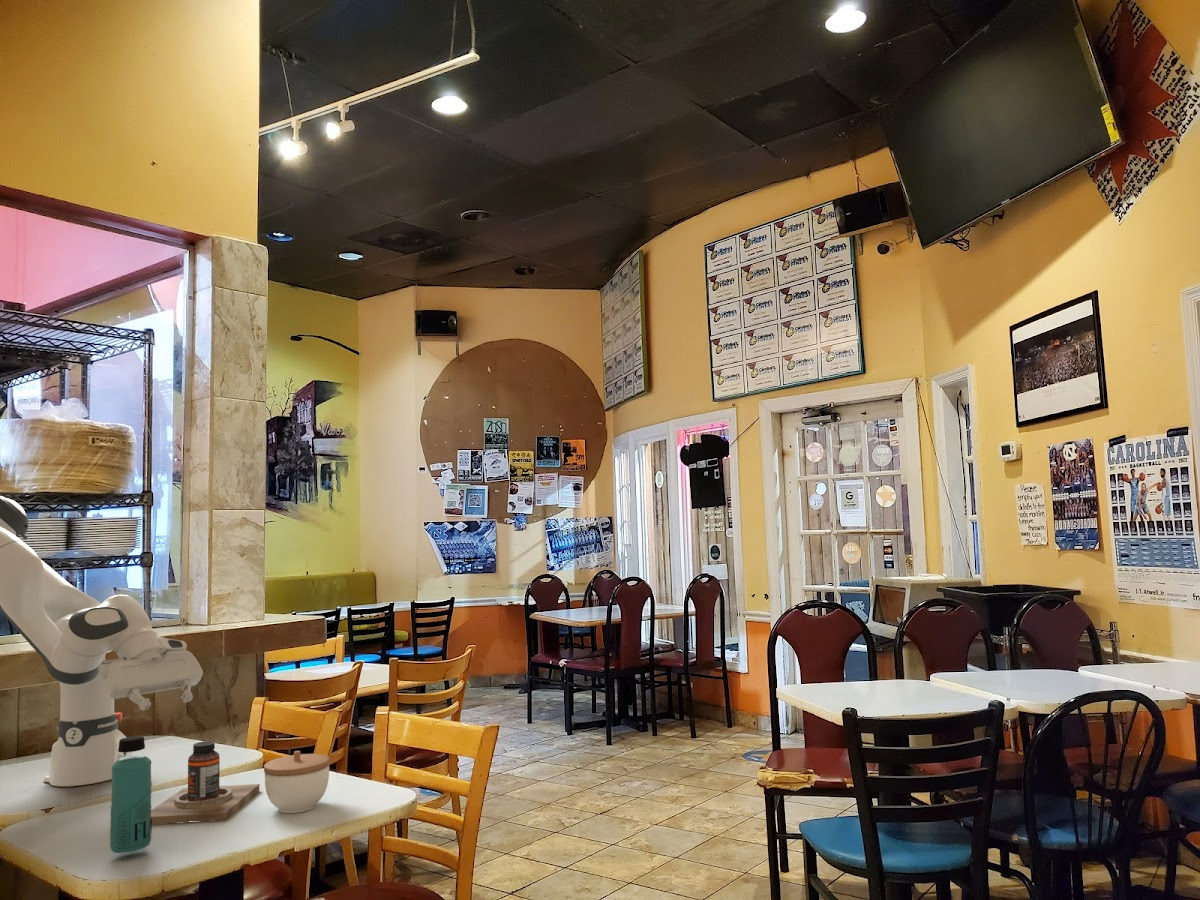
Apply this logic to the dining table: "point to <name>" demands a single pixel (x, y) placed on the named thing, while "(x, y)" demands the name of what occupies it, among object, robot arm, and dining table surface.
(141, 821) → the beverage bottle
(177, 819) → the walnut seat board
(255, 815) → the dining table surface
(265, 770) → the lidded bowl
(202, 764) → the supplement bottle
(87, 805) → the dining table surface
